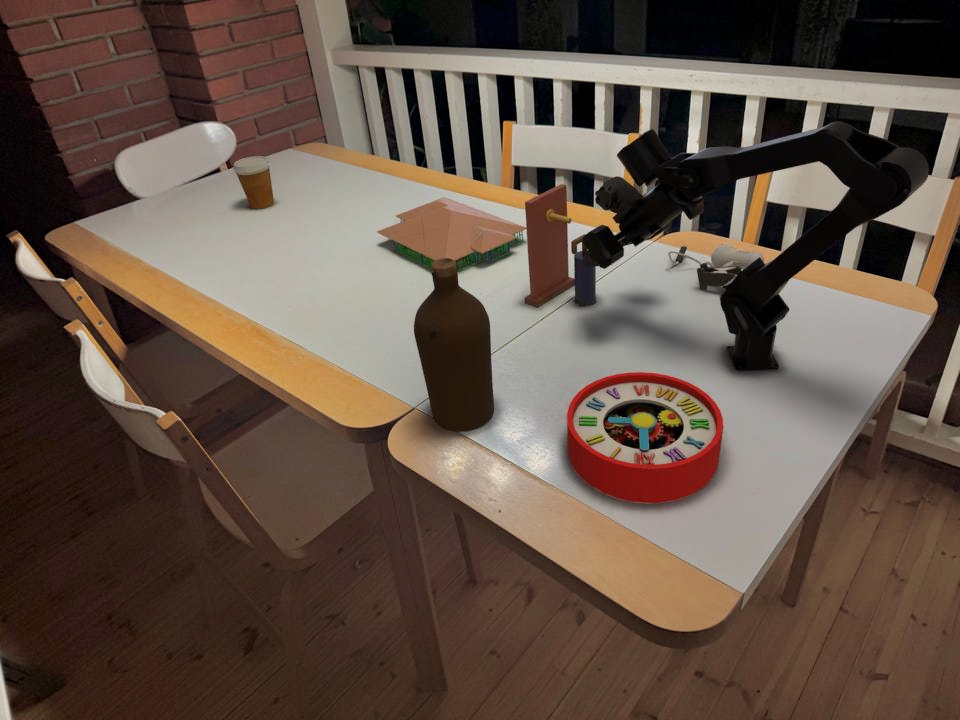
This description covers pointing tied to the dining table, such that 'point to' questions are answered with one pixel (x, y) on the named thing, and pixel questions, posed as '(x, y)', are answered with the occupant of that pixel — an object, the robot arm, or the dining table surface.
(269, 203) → the glass of beer
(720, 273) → the clip-on lamp
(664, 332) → the dining table surface
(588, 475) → the toy clock
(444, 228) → the house
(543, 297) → the red upright board
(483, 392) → the olive oil
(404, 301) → the dining table surface
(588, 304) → the navy blue cylinder
